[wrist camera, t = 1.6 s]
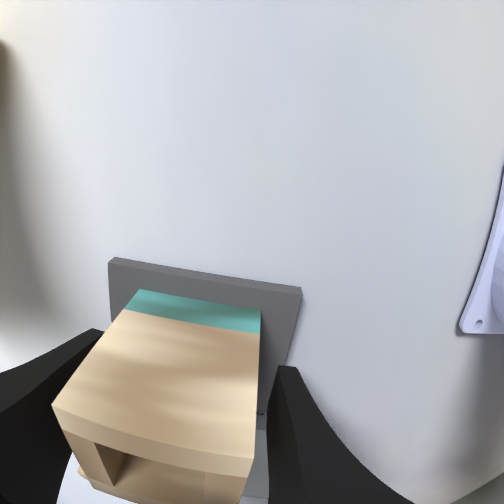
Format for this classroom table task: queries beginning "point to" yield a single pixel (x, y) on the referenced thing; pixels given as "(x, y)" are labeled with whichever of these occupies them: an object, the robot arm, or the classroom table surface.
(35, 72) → the classroom table surface
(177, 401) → the sleeve
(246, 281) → the pad
